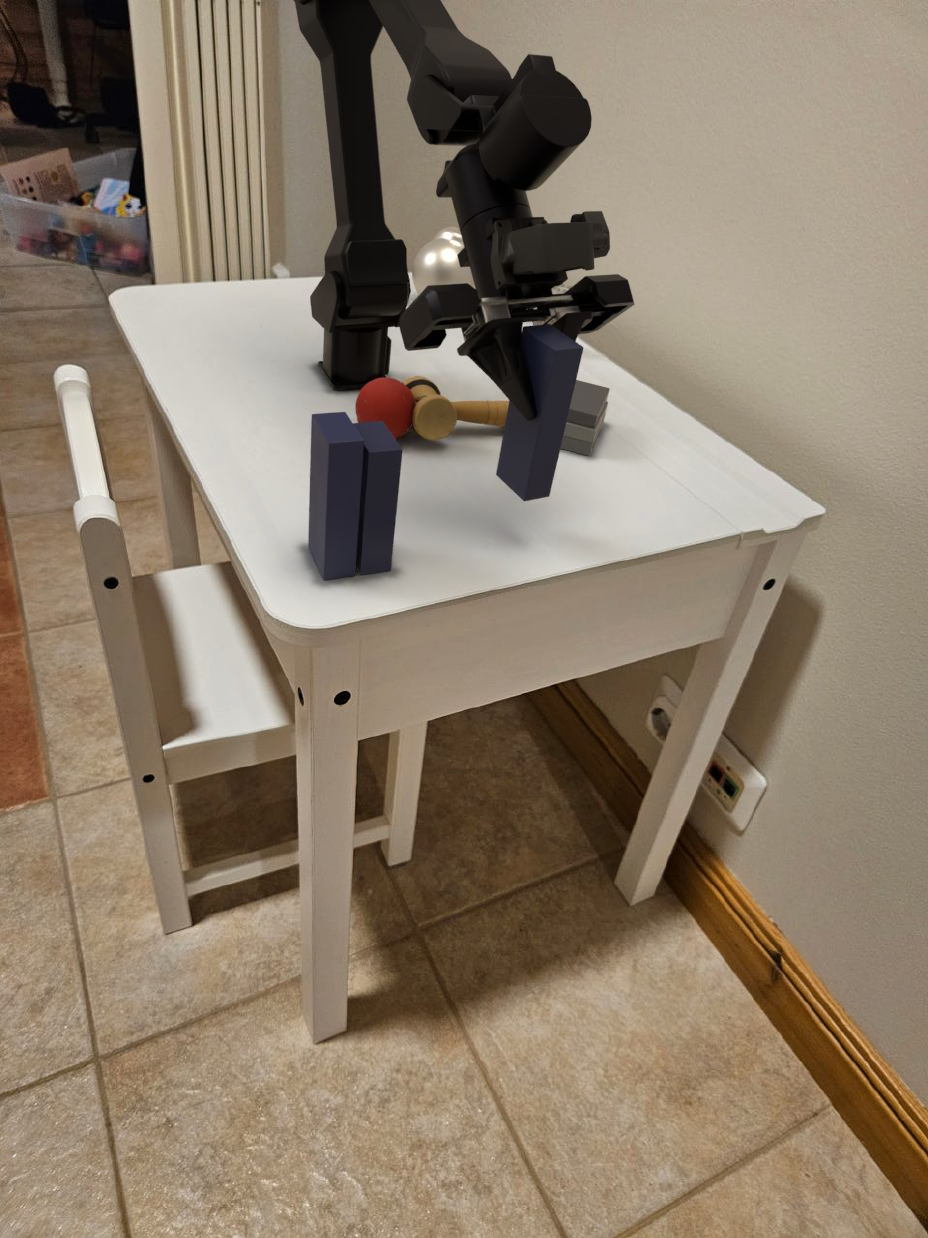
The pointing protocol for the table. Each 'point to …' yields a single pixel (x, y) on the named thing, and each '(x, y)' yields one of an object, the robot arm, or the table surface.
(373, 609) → the table surface
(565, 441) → the grey books
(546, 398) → the navy book
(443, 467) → the table surface
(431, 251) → the baroque pearl
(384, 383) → the kendama
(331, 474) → the navy books
